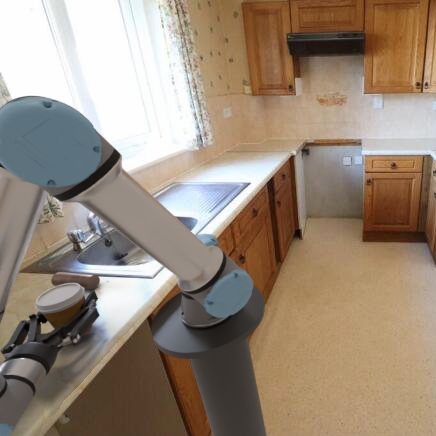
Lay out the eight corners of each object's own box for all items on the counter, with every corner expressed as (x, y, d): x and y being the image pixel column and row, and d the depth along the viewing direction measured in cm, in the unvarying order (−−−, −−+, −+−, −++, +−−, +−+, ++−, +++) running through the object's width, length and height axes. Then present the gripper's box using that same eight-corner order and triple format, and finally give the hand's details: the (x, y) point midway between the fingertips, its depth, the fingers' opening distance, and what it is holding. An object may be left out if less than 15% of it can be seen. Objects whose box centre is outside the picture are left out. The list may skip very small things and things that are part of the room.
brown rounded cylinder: (101, 283, 102) (97, 272, 100) (90, 292, 98) (84, 280, 96) (67, 280, 104) (61, 269, 102) (54, 289, 100) (48, 277, 98)
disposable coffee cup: (108, 320, 85) (92, 282, 79) (77, 348, 76) (56, 308, 71) (78, 317, 86) (60, 280, 81) (44, 344, 78) (21, 305, 73)
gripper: (-31, 398, 62) (34, 318, 82) (92, 370, 66) (125, 301, 86) (-53, 370, 59) (20, 294, 78) (78, 343, 63) (115, 278, 83)
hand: (75, 298), depth 82 cm, fingers closed on disposable coffee cup, 8 cm apart
